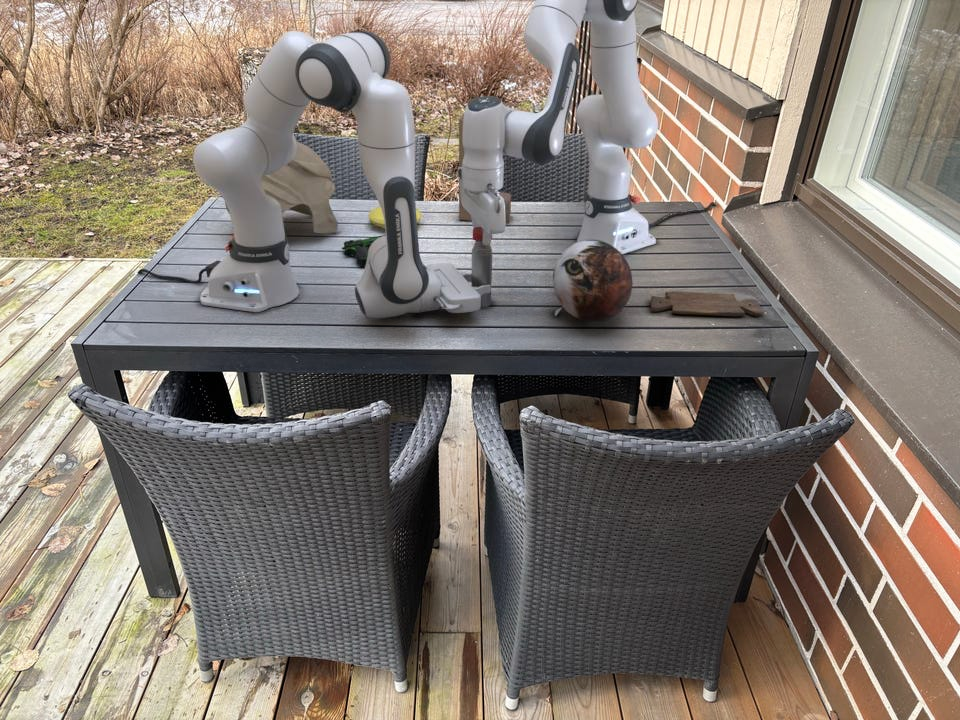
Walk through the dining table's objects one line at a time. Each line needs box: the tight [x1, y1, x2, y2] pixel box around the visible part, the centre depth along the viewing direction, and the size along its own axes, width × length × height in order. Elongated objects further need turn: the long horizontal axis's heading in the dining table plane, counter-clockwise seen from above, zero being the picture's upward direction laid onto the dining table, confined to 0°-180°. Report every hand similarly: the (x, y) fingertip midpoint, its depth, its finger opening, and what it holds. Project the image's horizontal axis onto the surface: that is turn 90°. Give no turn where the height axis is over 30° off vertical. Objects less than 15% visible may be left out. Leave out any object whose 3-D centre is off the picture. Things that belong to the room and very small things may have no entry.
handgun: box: [341, 234, 385, 268], centre depth 192 cm, size 16×3×15 cm
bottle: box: [470, 240, 493, 309], centre depth 163 cm, size 5×5×17 cm
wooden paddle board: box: [650, 291, 765, 317], centre depth 167 cm, size 26×2×10 cm
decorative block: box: [458, 113, 512, 224], centre depth 210 cm, size 8×15×30 cm, turn 82°
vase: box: [367, 206, 423, 229], centre depth 210 cm, size 16×16×7 cm
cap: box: [472, 227, 493, 242], centre depth 159 cm, size 4×4×2 cm
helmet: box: [224, 123, 339, 234], centre depth 198 cm, size 27×30×30 cm
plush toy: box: [552, 240, 633, 323], centre depth 159 cm, size 22×18×20 cm
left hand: (484, 282), depth 165 cm, fingers closed on bottle, 5 cm apart
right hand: (481, 239), depth 160 cm, fingers closed on cap, 4 cm apart
